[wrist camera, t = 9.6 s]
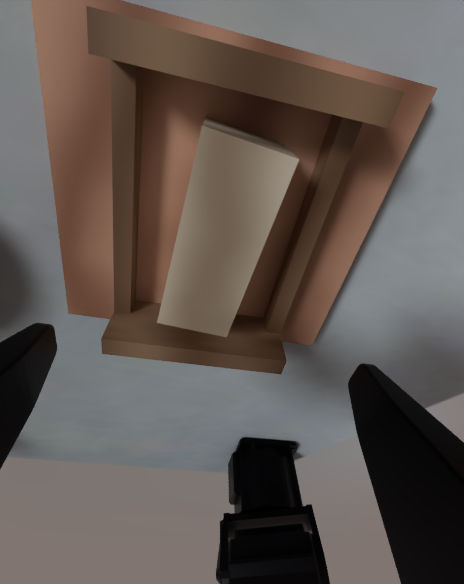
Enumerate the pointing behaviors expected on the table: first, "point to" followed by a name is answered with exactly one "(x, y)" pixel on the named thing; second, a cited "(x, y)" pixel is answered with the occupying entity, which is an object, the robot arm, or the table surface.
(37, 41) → the cradle
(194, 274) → the block
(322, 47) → the table surface
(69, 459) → the table surface
